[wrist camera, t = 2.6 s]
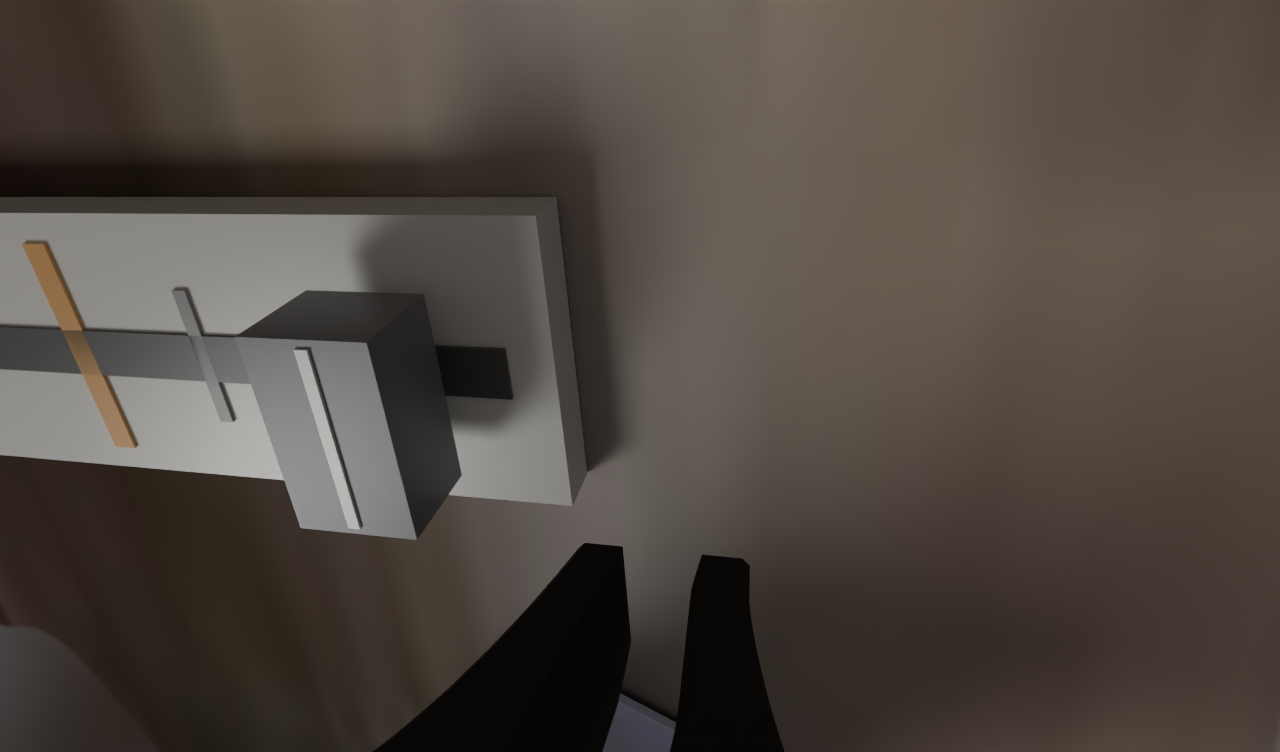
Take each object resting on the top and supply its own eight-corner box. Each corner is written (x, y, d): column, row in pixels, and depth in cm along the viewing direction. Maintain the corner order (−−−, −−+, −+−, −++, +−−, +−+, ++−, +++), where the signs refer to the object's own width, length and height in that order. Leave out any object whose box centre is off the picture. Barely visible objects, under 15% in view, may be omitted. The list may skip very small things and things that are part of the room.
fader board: (556, 196, 18) (534, 217, 17) (587, 473, 22) (571, 508, 20) (-97, 197, 22) (-158, 213, 21) (24, 428, 26) (-20, 455, 25)
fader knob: (441, 279, 18) (364, 344, 15) (475, 455, 20) (415, 542, 17) (327, 276, 18) (231, 338, 15) (373, 447, 21) (299, 529, 18)
